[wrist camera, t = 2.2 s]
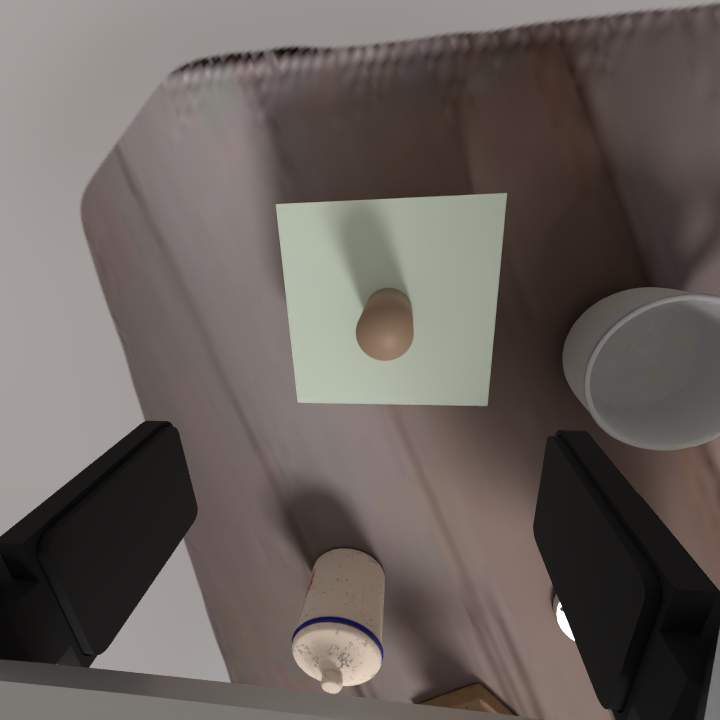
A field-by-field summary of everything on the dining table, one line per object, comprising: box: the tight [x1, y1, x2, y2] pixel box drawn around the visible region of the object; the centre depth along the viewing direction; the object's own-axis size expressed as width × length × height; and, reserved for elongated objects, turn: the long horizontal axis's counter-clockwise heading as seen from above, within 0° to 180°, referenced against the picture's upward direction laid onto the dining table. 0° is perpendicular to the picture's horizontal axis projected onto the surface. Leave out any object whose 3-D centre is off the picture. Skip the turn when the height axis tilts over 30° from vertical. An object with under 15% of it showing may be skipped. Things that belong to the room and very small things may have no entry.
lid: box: [276, 193, 507, 406], centre depth 24 cm, size 14×14×6 cm
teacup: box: [562, 287, 720, 450], centre depth 27 cm, size 14×11×8 cm
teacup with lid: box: [292, 548, 385, 693], centre depth 40 cm, size 12×9×12 cm
